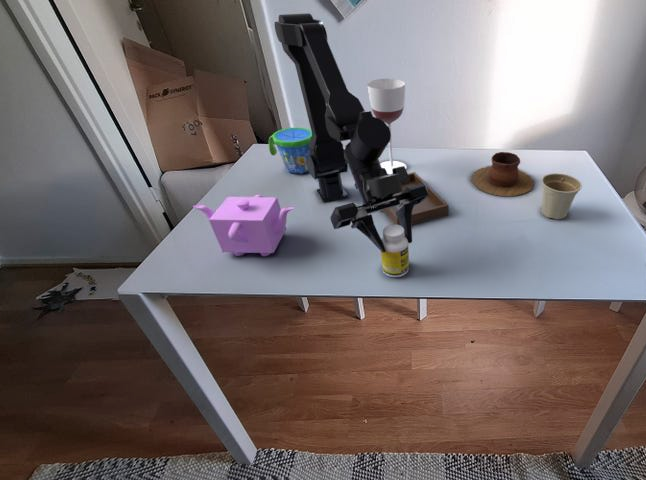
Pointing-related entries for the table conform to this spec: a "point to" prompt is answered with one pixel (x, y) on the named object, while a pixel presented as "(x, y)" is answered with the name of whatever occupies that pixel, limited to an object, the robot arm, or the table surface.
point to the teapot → (248, 224)
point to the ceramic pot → (503, 176)
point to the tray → (421, 204)
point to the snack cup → (292, 148)
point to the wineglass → (387, 108)
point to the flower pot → (558, 194)
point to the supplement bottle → (395, 251)
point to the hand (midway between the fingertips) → (397, 247)
